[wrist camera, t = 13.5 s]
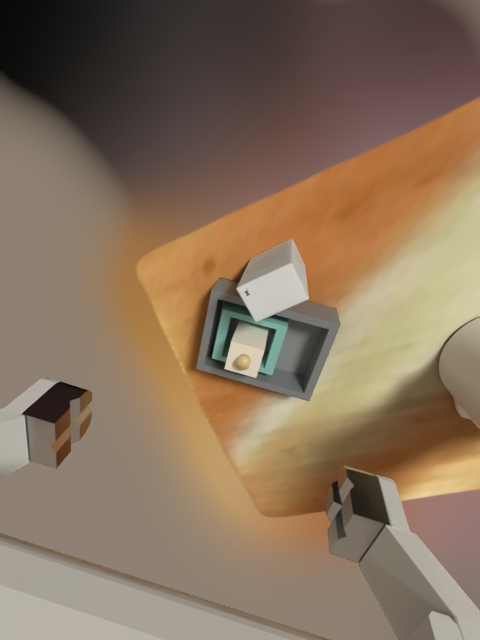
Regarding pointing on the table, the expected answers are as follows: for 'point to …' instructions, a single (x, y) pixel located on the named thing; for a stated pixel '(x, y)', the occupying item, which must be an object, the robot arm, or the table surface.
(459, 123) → the table surface
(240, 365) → the plug
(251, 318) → the inlet socket
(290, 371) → the organiser box
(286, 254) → the skincare box
